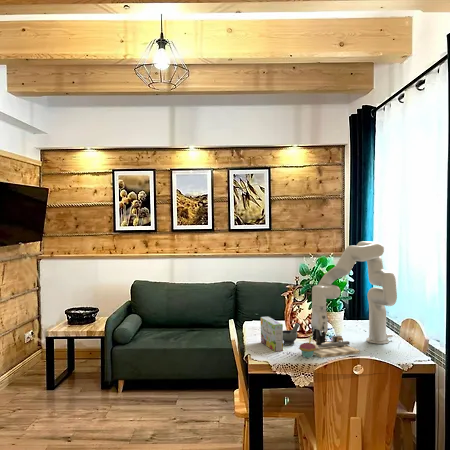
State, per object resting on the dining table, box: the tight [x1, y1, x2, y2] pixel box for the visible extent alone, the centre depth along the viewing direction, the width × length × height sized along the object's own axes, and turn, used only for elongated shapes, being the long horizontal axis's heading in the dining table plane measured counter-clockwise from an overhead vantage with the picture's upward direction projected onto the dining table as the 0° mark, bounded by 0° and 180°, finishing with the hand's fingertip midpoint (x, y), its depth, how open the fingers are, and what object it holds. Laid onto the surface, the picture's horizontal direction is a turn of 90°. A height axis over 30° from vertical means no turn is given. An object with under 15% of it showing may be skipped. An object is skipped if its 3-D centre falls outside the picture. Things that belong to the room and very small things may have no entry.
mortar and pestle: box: [283, 322, 301, 346], centre depth 304 cm, size 11×9×12 cm
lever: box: [315, 330, 351, 348], centre depth 291 cm, size 20×3×10 cm, turn 111°
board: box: [312, 340, 361, 359], centre depth 290 cm, size 24×22×2 cm
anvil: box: [331, 334, 343, 342], centre depth 303 cm, size 5×2×3 cm, turn 111°
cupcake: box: [298, 334, 316, 358], centre depth 278 cm, size 9×8×12 cm
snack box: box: [260, 316, 284, 353], centre depth 298 cm, size 21×6×15 cm, turn 18°
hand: (318, 340), depth 288 cm, fingers open, 6 cm apart
